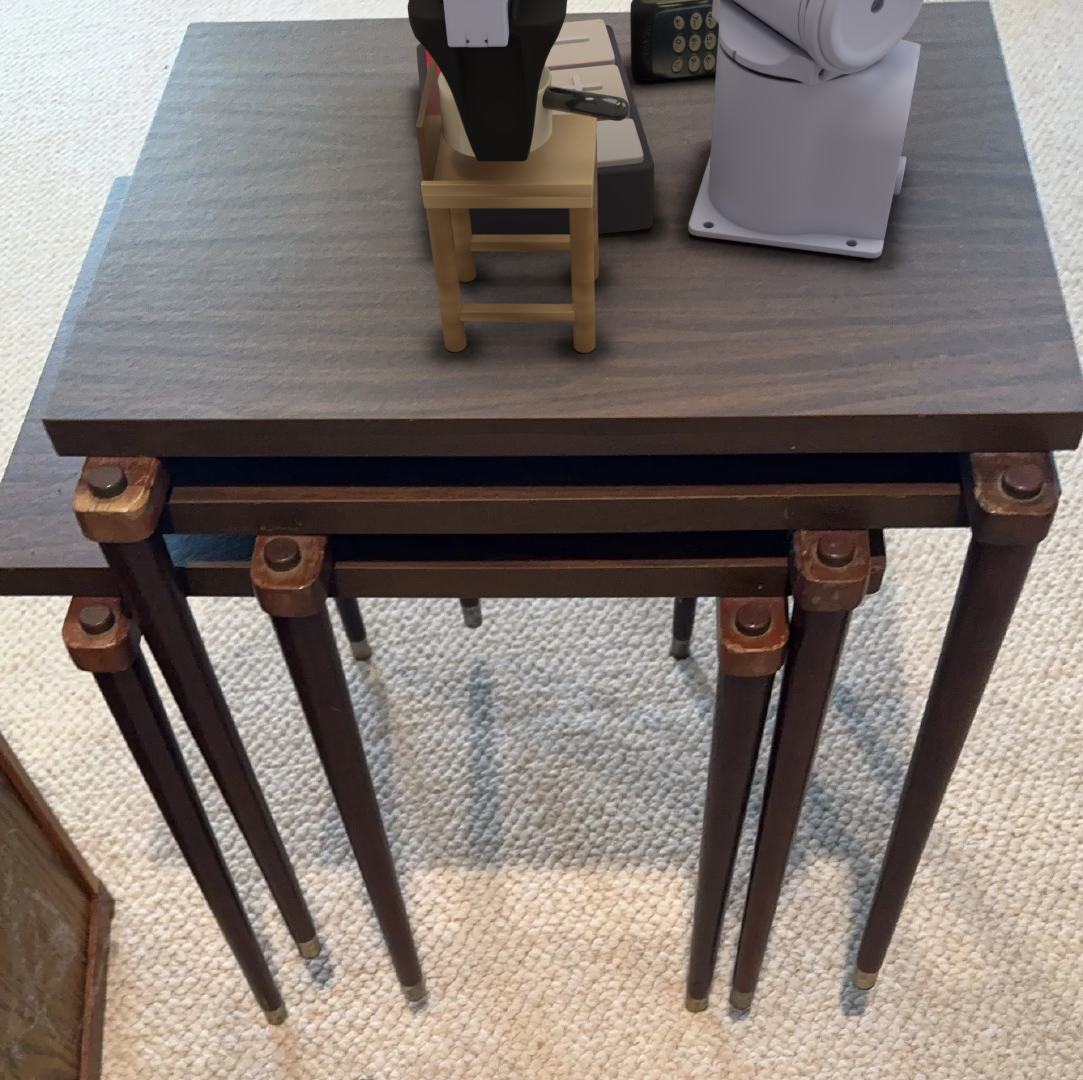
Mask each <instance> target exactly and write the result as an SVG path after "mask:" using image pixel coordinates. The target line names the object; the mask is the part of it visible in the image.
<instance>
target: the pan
mask: <svg viewBox="0 0 1083 1080" xmlns="http://www.w3.org/2000/svg"><path fill="white" fill-rule="evenodd" d="M438 91H439V102H440V114H441V125H442V135H443V139H444V140H445V142H446V143H447V144H448V146H449V147H451V148H452V149H454V150H455V151H457V152H459V153H462V154H464V155H468V156H472V157H475V155H474V153H473V150H472V148H471V146H470V143H469V141H468V138H467V135H466V132H465V129H464V126H463V124H462V121H461V118H460V115H459V112H458V109H457V106H456V103H455V101H454V98H453V95H452V93H451V90H450V88H449V86H448V84H447V82H446V80H445V78H444V76H443V74H442V72H441V73H440V75H439V78H438ZM552 110H555V111H560V112H566V113H572V114H578V115H584V116H590V117H596V118H601V119H607V120H613V121H621V120H624V119H625V118H626V117H627V116H628V114H629V110H630V108H629V104H628V102H627V101H626V100H625V99H624V98H621V97H616V96H610V95H603V94H597V93H591V92H585V91H579V90H573V89H567V88H561V87H555V86H552V77H551V73H550V70H549V69H548V67H547V66H546V65H545V66H544V69H543V72H542V76H541V80H540V85H539V90H538V97H537V106H536V115H535V124H534V131H533V138H532V143H531V148H530V151H529V153H530V152H532V151H534V150H536V149H538V148H540V147H541V146H543V145H544V144H545V143H546V142H547V141H548V140H549V138H550V137H551V134H552V130H553V119H552Z"/></svg>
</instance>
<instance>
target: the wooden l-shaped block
mask: <svg viewBox="0 0 1083 1080" xmlns="http://www.w3.org/2000/svg"><path fill="white" fill-rule="evenodd" d="M552 119H553V130H552V134H551V137H550V138H549V140H548V141H547V142H546V143H545V144H544V145H543V146H541V147H540V148H538V149H536V150H534V151H532V152H530V153H529V155H528V158H527V160H526V161H482V162H480V161H478V160H477V159H476V157H472V156H468V155H464V154H462V153H459V152H457V151H455V150H454V149H452V148H451V147H449V146H448V144H447V143H446V142H445V140H444V139H443V135H442V125H441V114H440V102H439V91H438V73H437V64H436V62H429V67H428V71H427V76H426V81H425V86H424V90H423V95H422V100H421V99H420V105H419V109H418V114H417V118H416V124H415V131H416V139H417V147H418V153H419V161H420V167H421V175H422V180H421V184H420V188H421V195H422V202H423V208H424V209H425V210H426V209H434V208H592V206H593V189H594V171H595V153H596V134H597V118H596V117H590V116H584V115H578V114H555V115H552Z"/></svg>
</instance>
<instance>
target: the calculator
mask: <svg viewBox="0 0 1083 1080" xmlns="http://www.w3.org/2000/svg"><path fill="white" fill-rule="evenodd" d="M416 60H417V72H418V83H419V96H420V101H421V100H422V95H423V90H424V86H425V81H426V76H427V71H428V67H429V62H435V61H434V60H433V58H432V57H431V55H430V54H429V53H428V51H427V50H426V49H425V48H424V47H423V45H422V44H421V43H419V44H417V46H416ZM545 65H546V66H547V67H548V69H549V70H550V73H551V77H552V86H555V87H561V88H567V89H573V90H579V91H585V92H591V93H597V94H603V95H610V96H616V97H621V98H624V99H625V100H626V101H627V102H628V104H629V108H630V110H629V114H628V116H627V117H626V118H625V119H624V120H621V121H613V120H607V119H601V118H597V188H598V235H602V234H613V233H623V232H632V231H639V230H641V231H642V230H647V229H649V228H652V226H653V225H654V197H655V195H654V190H655V188H654V187H655V164H654V160H653V156H652V153H651V150H650V146H649V144H648V143H649V142H648V140H647V137H646V134H645V130H644V127H643V123H642V120H641V117H640V114H639V111H638V107H637V104H636V100H635V97H634V94H633V91H632V88H631V85H630V81H629V78H628V75H627V72H626V68H625V65H624V61H623V59H622V55H621V52H620V49H619V45H618V42H617V39H616V36H615V32H614V29H613V28H612V26H611V25H609V24H606V23H605V21H604V19H602V18H601V19H600V18H597V19H596V18H595V19H586V20H576V21H567V22H566V21H564V23H563V26H562V28H561V31H560V33H559V36H558V38H557V40H556V41H555V43H554V45H553V47H552V48H551V51H550V53H549V55H548V57H547V60H546V63H545ZM437 73H438V78H439V75H440V73H441V71H440V69H439V67H438V66H437ZM555 114H572V113H566V112H560V111H555V110H552V115H555ZM469 212H470V221H471V230H472V235H570V221H569V208H469Z"/></svg>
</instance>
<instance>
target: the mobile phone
mask: <svg viewBox="0 0 1083 1080" xmlns="http://www.w3.org/2000/svg"><path fill="white" fill-rule="evenodd" d="M712 8H713V0H631V2H630V12H629V15H630V16H629V17H630V19H629V20H630V21H629V23H630V68H631V69H630V70H631V74H632V76H633V78H634V79H635V80H640V81H660V80H673V79H681V78H695V77H696V78H697V77H706V76H707V77H708V76H716V65H717V50H718V37H719V36H718V35H719V24H718V22H717V21H716V20H715V19H714V18H713V17H712Z"/></svg>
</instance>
